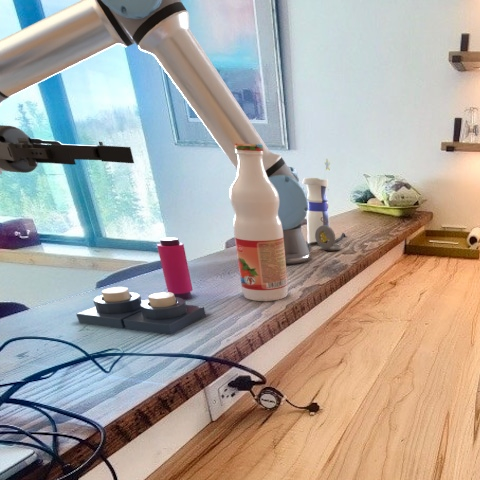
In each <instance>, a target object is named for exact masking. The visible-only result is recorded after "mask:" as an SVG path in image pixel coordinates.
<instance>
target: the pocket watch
mask: <svg viewBox="0 0 480 480" xmlns="http://www.w3.org/2000/svg"><path fill="white" fill-rule="evenodd" d="M322 218H326V217H322ZM322 218H321V219H322ZM326 219H327V218H326ZM321 221H322V220H321ZM322 222H323V223H324V225H322V226H320V227H319V228H318V229H317V230H316V233H315V238H316V241H317V243H318V244H319V245H318V246H319V247H320V249H321V250H324V251H329V252H335V251H339V250H342V248H343V247H342V246H343V245H340V244H335V240H336V239H337V238H336V233H335V231H334V230H333V228H331V227H330V225H329V226H326V223H327V222H328V219H327V222H326V220H324V221H322ZM321 235H322V237H321ZM321 238H322V239H321ZM326 240H327V241H328V240H329V242H328V243H324V242H325V241H326Z"/></svg>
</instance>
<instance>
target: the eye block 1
mask: <svg viewBox="0 0 480 480" xmlns="http://www.w3.org/2000/svg"><path fill="white" fill-rule="evenodd" d="M129 294H130V299H127V300H123V301H114V302H108V301H104V298H103V295H102V294H100V295H97V296H95V297H94V299H93V300H92V301H93V304H94V306H93V307H90V308H88V309H85V310H82V311H79V312H77V313H76V317H77V320H78V323H79V324H84V325H92V326H101V327H109V328H115V329H116V328H117V329H126V327H125V324H124V321H123V319H126V318H128V317H130V316H132V315H135V314H137V313H139V312H141V308H140V305H141V303H142V302H144V301H146V300H147V299H142V297H141V295H140V294H139V293H137V292H133V291H129Z"/></svg>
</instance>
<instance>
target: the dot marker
mask: <svg viewBox="0 0 480 480" xmlns="http://www.w3.org/2000/svg"><path fill="white" fill-rule="evenodd" d="M156 247H157V251H158V256H159V259H160V264H161V269H162V273H163V277H164V281H165V285H166V286H165V287H166V290H167V292H171V293H173V294H174V296H175V297H178V298H182V299H184V300H185V301H186V300H189V299H191V298H192V293H191V292H192V291H193V290H194V289H193V285H192V280H191V274H190V269H189V265H188V260H187V254H186V249H185V244H184V243H183V242H180V240H179V238H178V237H162V238H160V239H159V243H157V244H156Z"/></svg>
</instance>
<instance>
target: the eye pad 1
mask: <svg viewBox="0 0 480 480" xmlns="http://www.w3.org/2000/svg"><path fill="white" fill-rule="evenodd" d="M129 292H130V291H129V288H128V287H125V286H112V287H107V288H104V289H102V290H101V295H103V298H104V301H108V302H114V301H123V300H127V299H130V294H129Z"/></svg>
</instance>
